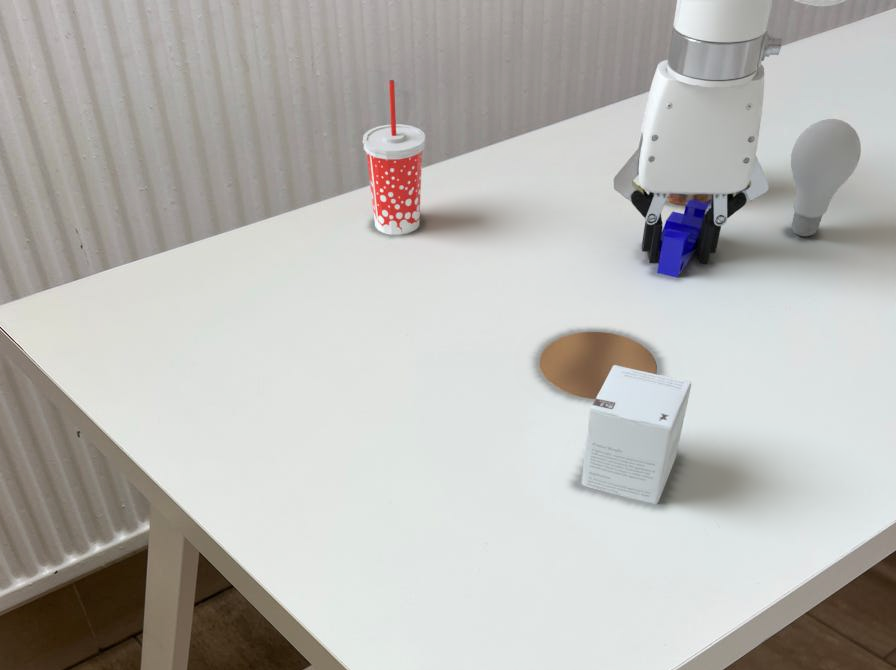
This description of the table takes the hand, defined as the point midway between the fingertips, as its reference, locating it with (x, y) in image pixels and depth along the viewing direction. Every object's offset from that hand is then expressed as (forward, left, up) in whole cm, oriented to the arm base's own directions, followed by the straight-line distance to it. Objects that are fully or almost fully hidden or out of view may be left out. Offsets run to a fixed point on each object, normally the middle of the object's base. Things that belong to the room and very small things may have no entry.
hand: (676, 256), depth 95 cm
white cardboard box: (+6, +33, 0) cm, 33 cm away
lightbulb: (-13, -5, 0) cm, 14 cm away
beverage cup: (+28, -5, 0) cm, 29 cm away
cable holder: (0, 0, 0) cm, 1 cm away
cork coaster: (+8, +19, 0) cm, 21 cm away
